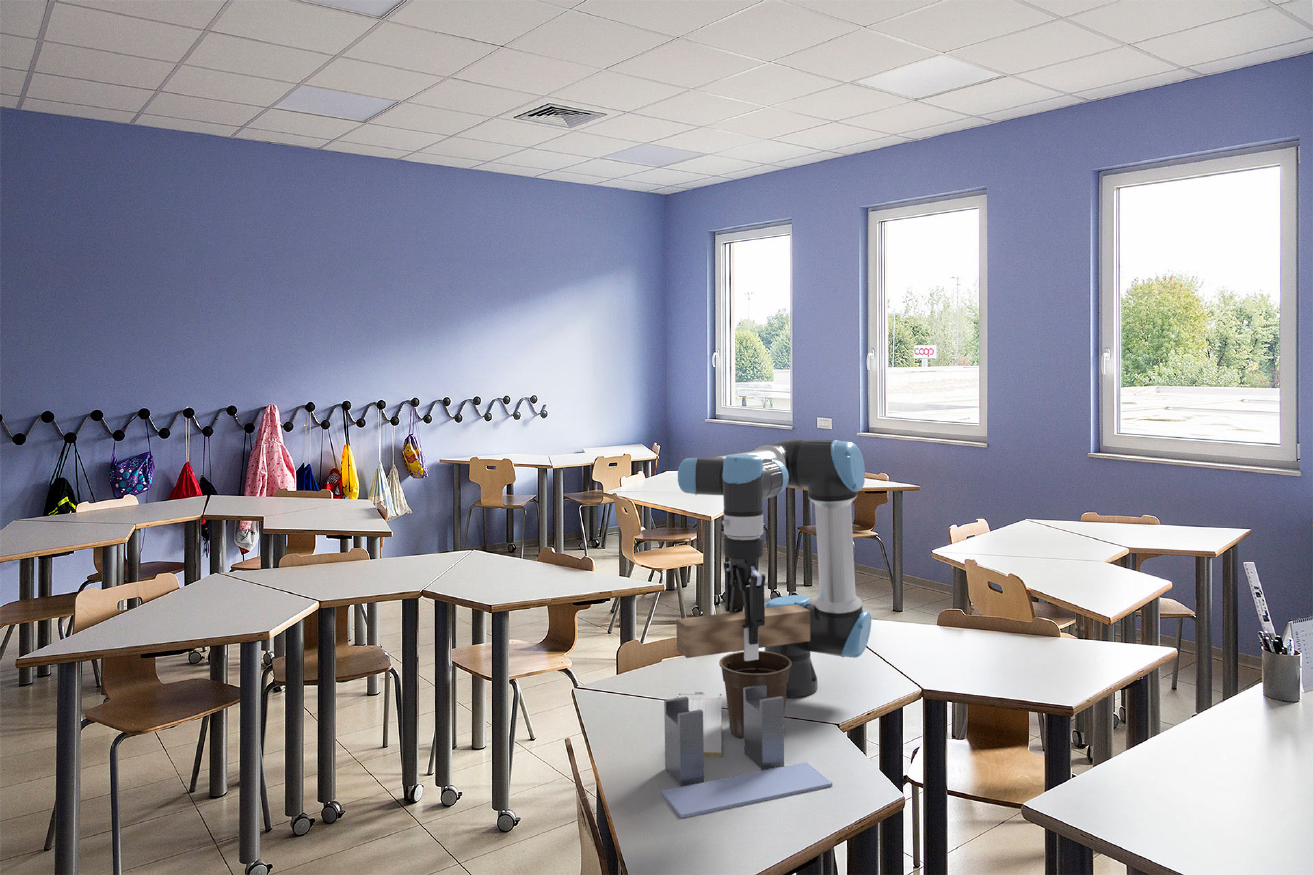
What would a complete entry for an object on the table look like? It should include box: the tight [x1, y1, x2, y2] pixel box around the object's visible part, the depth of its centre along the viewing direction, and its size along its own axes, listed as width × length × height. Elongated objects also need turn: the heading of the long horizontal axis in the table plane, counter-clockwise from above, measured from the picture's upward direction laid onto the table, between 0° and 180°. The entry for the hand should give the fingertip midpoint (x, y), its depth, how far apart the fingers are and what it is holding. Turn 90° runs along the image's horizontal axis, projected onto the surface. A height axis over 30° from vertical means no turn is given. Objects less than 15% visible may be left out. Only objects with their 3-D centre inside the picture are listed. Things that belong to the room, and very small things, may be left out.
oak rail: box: [675, 605, 810, 659], centre depth 169 cm, size 26×5×6 cm, turn 110°
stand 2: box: [743, 684, 785, 771], centre depth 184 cm, size 5×8×14 cm, turn 20°
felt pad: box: [661, 761, 833, 819], centre depth 171 cm, size 32×10×1 cm, turn 110°
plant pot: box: [718, 650, 792, 739], centre depth 198 cm, size 16×16×16 cm
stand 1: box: [663, 696, 705, 787], centre depth 177 cm, size 5×8×14 cm, turn 20°
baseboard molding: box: [676, 691, 723, 758], centre depth 202 cm, size 31×3×12 cm
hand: (744, 654), depth 169 cm, fingers closed on oak rail, 5 cm apart
